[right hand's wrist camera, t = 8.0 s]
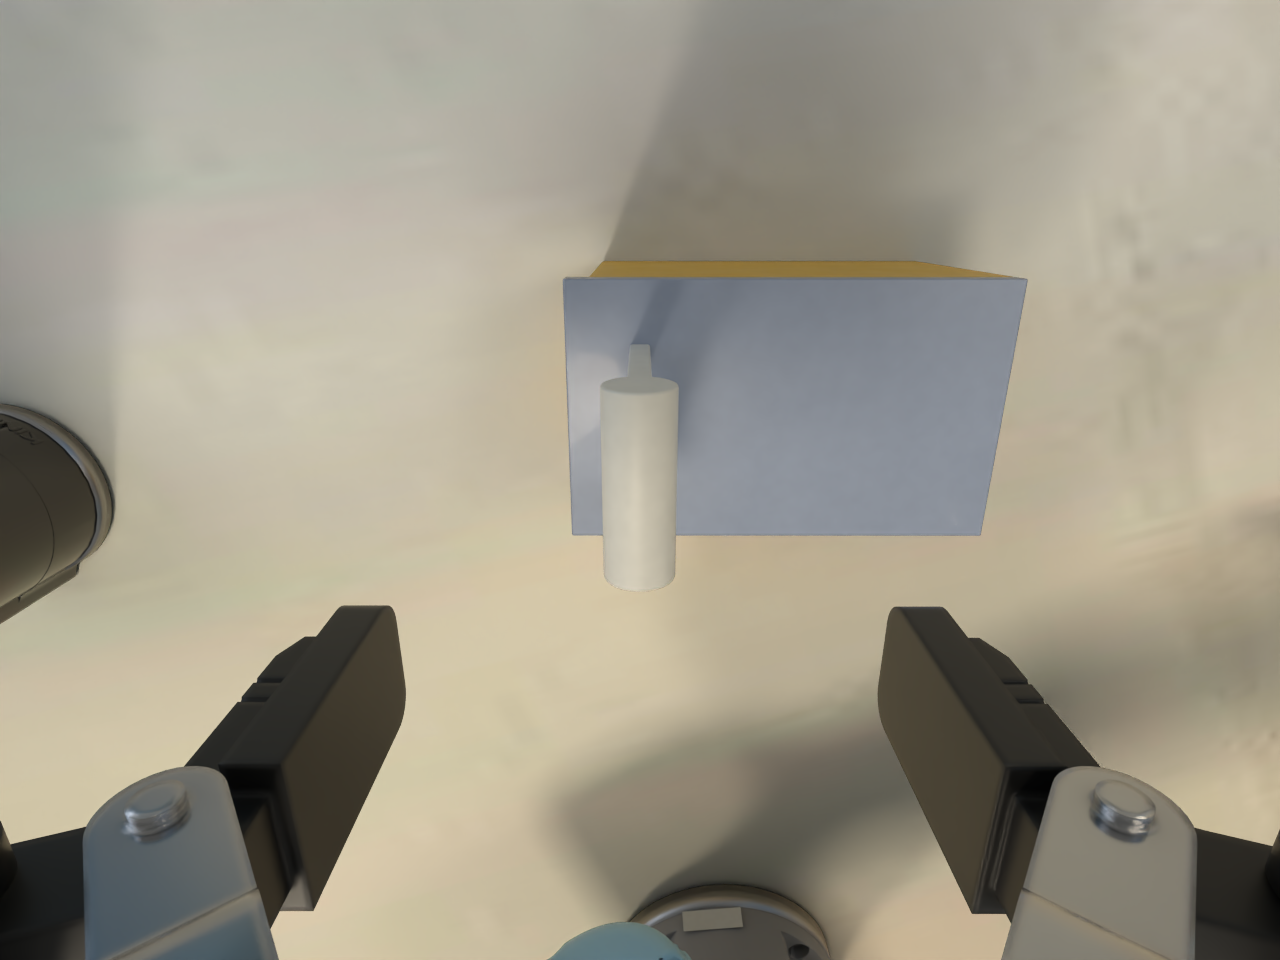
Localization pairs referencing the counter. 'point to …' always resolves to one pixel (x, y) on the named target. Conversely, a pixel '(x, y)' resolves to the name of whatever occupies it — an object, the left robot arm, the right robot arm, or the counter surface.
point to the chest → (781, 269)
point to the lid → (781, 408)
